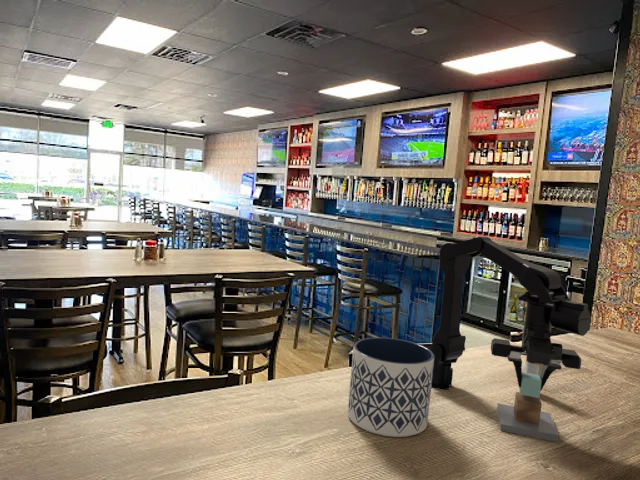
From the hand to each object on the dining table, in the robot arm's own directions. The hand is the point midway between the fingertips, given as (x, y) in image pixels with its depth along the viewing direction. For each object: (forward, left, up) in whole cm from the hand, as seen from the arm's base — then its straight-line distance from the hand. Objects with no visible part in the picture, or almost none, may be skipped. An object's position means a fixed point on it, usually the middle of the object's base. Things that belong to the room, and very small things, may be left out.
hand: (529, 388), depth 113 cm
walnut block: (0, 0, -7) cm, 7 cm away
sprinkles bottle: (+4, +23, -9) cm, 25 cm away
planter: (-31, -12, -9) cm, 34 cm away
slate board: (0, 0, -9) cm, 9 cm away
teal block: (0, 0, -1) cm, 1 cm away
